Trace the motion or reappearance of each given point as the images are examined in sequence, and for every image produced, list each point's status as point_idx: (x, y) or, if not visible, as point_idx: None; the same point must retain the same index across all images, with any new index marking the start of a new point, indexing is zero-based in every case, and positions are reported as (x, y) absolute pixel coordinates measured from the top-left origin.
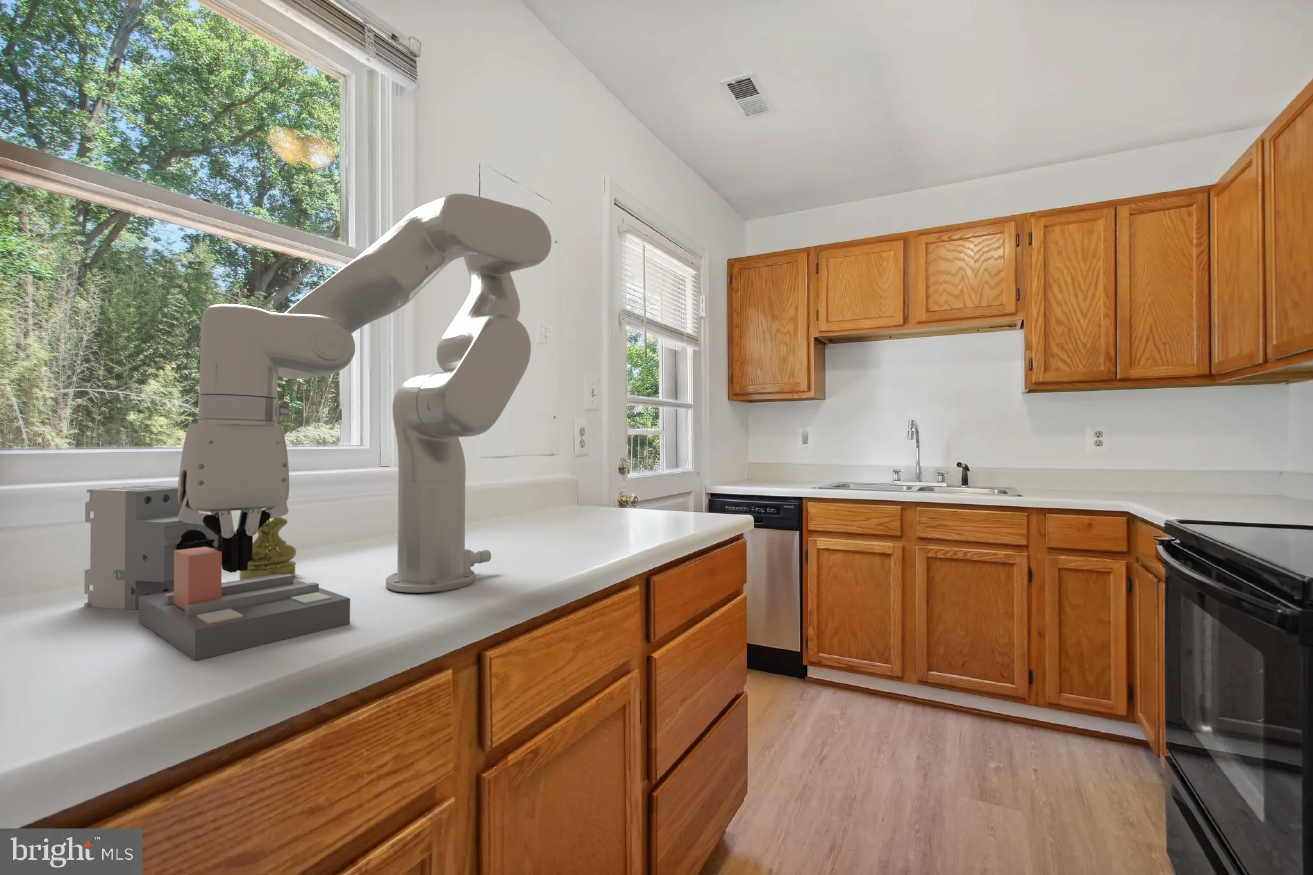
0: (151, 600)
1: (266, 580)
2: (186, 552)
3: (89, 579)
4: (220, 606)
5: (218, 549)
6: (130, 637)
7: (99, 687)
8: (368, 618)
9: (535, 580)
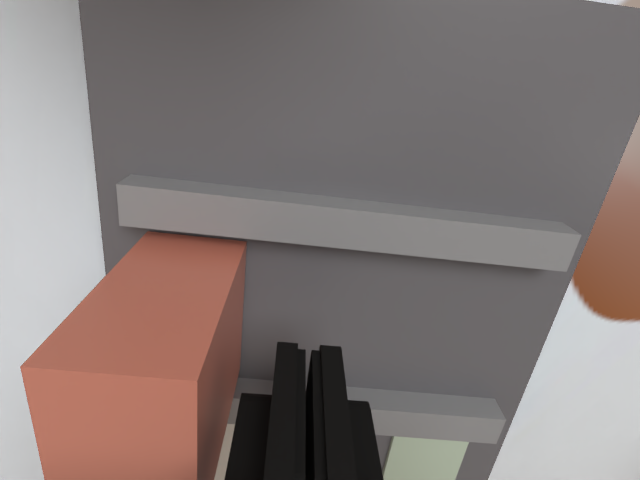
0: (102, 83)
1: (463, 260)
2: (67, 465)
3: None
4: None
5: (231, 451)
6: (79, 154)
7: (6, 439)
8: (498, 456)
9: None
